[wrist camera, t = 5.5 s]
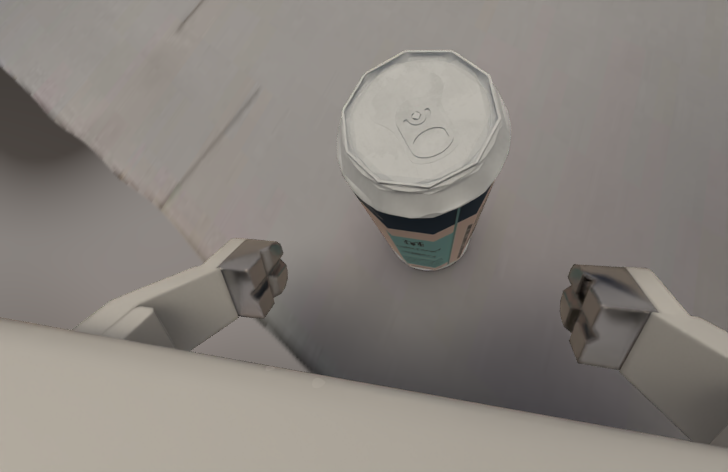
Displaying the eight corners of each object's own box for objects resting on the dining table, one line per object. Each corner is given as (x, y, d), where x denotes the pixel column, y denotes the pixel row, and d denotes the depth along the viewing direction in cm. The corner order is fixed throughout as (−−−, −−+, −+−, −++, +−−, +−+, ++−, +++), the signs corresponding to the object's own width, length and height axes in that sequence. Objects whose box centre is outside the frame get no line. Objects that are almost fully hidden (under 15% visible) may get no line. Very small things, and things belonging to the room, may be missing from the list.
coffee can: (446, 182, 20) (458, 3, 8) (485, 249, 18) (565, 142, 7) (377, 217, 20) (299, 91, 9) (410, 285, 19) (368, 240, 7)
